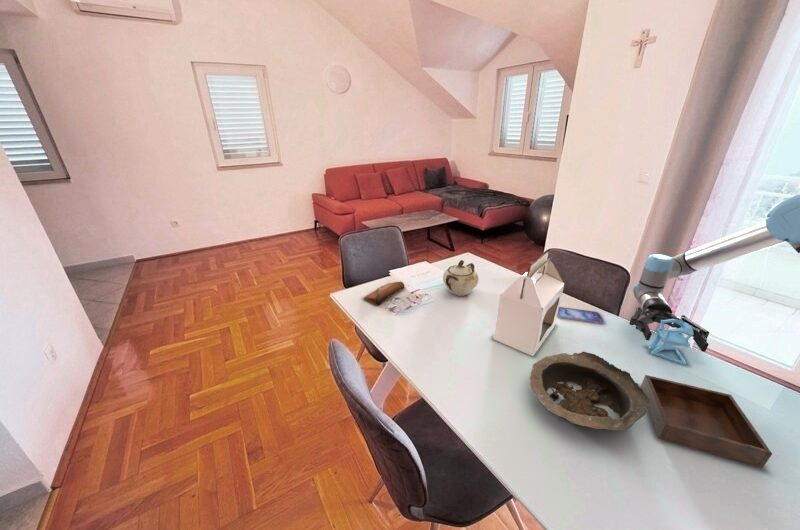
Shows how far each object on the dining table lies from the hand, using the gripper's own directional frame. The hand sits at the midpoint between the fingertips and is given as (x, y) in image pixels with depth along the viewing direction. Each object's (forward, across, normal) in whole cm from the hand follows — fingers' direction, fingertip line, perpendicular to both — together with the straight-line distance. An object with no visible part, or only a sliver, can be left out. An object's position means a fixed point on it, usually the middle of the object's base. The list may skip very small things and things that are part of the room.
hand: (676, 342), depth 92 cm
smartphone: (-17, +23, -7) cm, 30 cm away
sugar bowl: (-19, +69, -7) cm, 72 cm away
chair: (-3, 0, -7) cm, 8 cm away
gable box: (+2, +41, -7) cm, 42 cm away
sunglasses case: (-4, +98, -7) cm, 98 cm away
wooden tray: (+25, +2, -7) cm, 26 cm away
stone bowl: (+30, +27, -7) cm, 41 cm away
